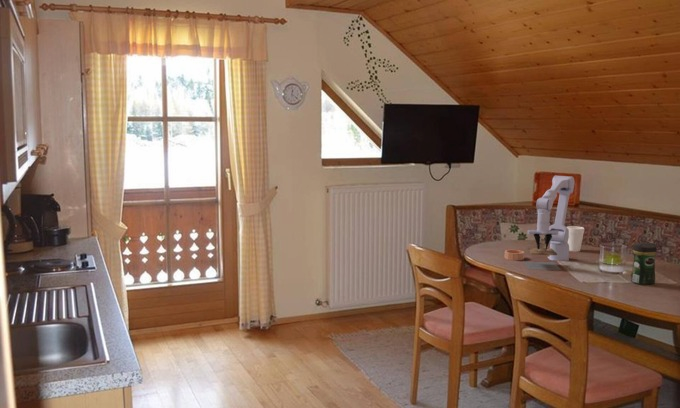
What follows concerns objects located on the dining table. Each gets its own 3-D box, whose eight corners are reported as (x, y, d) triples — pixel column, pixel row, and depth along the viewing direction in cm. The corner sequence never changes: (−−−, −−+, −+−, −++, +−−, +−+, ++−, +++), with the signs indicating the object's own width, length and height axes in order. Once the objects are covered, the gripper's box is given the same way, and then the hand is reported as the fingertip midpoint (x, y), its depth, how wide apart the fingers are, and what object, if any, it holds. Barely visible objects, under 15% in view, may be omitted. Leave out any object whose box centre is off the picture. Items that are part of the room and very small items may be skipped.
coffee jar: (645, 280, 292) (649, 240, 289) (657, 284, 284) (661, 244, 281) (627, 281, 290) (630, 241, 287) (638, 285, 282) (641, 245, 280)
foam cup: (580, 248, 359) (581, 226, 357) (585, 252, 350) (586, 229, 348) (563, 248, 360) (564, 225, 358) (567, 251, 351) (568, 228, 349)
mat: (554, 263, 323) (554, 262, 323) (561, 271, 308) (561, 270, 307) (522, 262, 325) (522, 261, 325) (527, 269, 309) (527, 268, 309)
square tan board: (551, 250, 321) (552, 241, 320) (556, 255, 309) (557, 246, 308) (527, 249, 322) (527, 240, 321) (531, 254, 310) (532, 245, 310)
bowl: (522, 257, 336) (522, 250, 336) (525, 261, 327) (525, 253, 326) (503, 256, 338) (503, 249, 337) (506, 260, 328) (506, 253, 328)
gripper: (529, 223, 310) (528, 250, 312) (560, 223, 309) (558, 251, 311) (527, 220, 317) (526, 247, 319) (557, 221, 316) (555, 248, 317)
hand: (541, 248), depth 315 cm, fingers closed on square tan board, 3 cm apart
